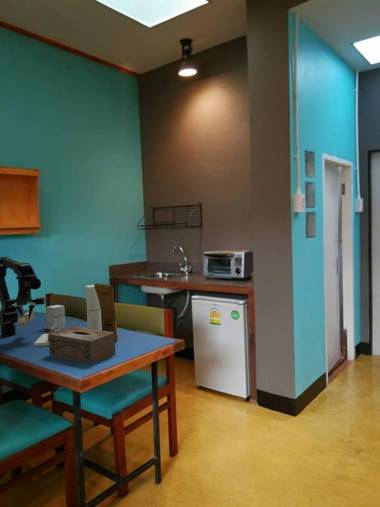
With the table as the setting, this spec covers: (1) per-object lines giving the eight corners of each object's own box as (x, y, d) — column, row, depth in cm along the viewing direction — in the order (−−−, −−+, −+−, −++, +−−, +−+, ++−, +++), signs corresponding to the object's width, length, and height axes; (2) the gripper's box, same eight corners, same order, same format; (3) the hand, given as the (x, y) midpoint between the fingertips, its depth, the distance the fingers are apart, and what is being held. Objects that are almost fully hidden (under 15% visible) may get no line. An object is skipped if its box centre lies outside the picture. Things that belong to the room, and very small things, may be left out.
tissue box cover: (49, 355, 177) (48, 333, 177) (74, 346, 190) (73, 326, 189) (91, 365, 164) (90, 341, 163) (115, 354, 176) (114, 332, 176)
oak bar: (24, 325, 193) (24, 319, 193) (18, 325, 193) (17, 319, 192) (33, 316, 211) (33, 311, 211) (28, 317, 210) (27, 311, 210)
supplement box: (54, 330, 219) (53, 308, 218) (46, 328, 224) (45, 306, 223) (65, 327, 225) (64, 305, 224) (58, 325, 230) (56, 304, 229)
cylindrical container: (98, 334, 210) (95, 287, 208) (85, 333, 211) (83, 287, 209) (103, 330, 217) (101, 285, 215) (91, 330, 218) (89, 284, 216)
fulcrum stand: (34, 346, 191) (33, 330, 191) (43, 336, 207) (42, 322, 207) (68, 344, 193) (67, 329, 193) (74, 335, 209) (73, 321, 208)
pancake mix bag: (109, 344, 191) (106, 286, 189) (95, 335, 207) (92, 282, 205) (122, 341, 195) (119, 285, 193) (107, 333, 211) (105, 280, 209)
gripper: (-1, 291, 191) (1, 323, 192) (40, 289, 194) (41, 321, 195) (6, 288, 202) (8, 318, 203) (45, 286, 205) (46, 316, 206)
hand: (26, 318), depth 202 cm, fingers closed on oak bar, 3 cm apart
